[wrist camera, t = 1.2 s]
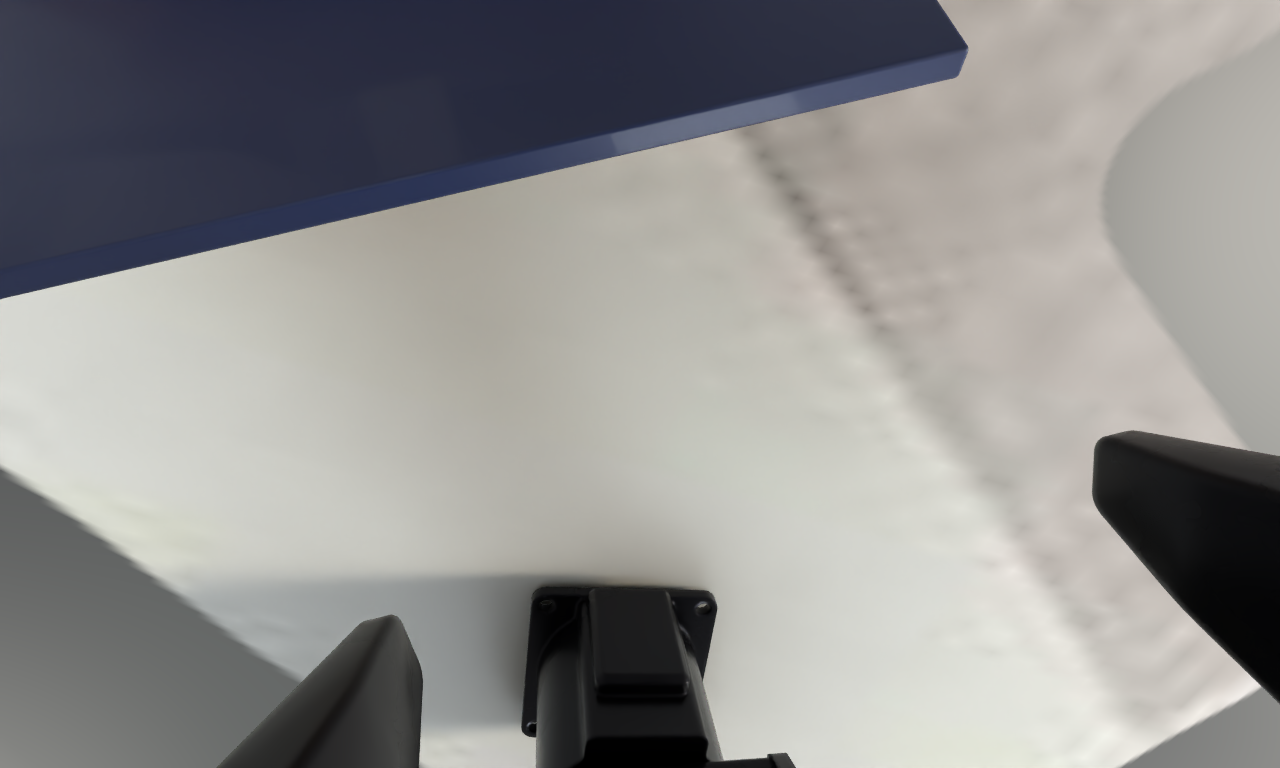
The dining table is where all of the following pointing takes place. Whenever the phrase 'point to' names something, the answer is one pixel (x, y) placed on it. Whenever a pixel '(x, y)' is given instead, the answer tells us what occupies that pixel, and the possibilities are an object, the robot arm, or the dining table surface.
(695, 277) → the dining table surface
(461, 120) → the flap
